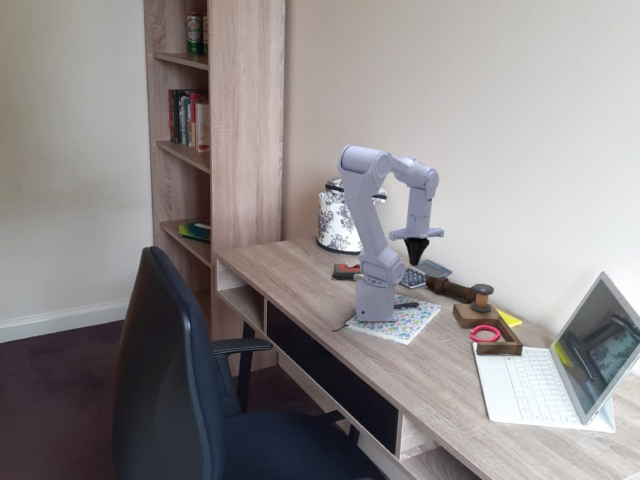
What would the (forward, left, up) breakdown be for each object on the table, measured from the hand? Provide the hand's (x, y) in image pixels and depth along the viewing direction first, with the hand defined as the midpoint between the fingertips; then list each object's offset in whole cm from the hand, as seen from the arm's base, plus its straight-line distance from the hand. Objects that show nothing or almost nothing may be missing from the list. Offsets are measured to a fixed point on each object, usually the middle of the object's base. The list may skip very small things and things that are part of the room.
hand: (413, 264), depth 152 cm
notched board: (+14, -19, -9) cm, 25 cm away
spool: (+15, -11, -7) cm, 20 cm away
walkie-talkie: (-10, +14, -10) cm, 20 cm away
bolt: (+11, +2, -10) cm, 15 cm away
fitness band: (+13, -20, -10) cm, 26 cm away
